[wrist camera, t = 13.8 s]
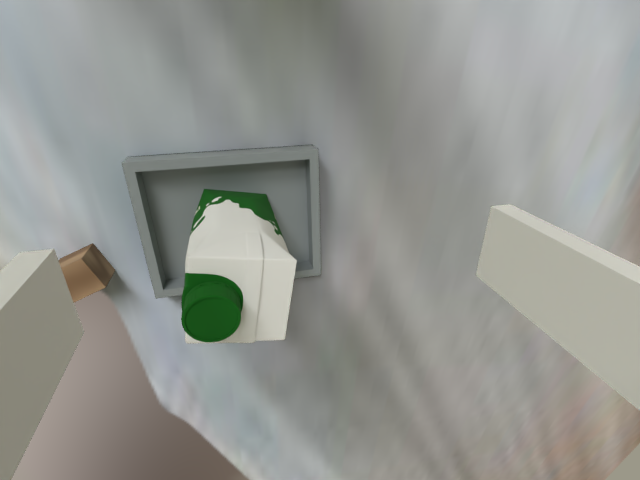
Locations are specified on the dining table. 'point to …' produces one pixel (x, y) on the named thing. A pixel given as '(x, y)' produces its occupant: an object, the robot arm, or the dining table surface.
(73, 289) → the walnut block
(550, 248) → the robot arm
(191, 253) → the soya milk
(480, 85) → the dining table surface
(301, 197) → the tray
